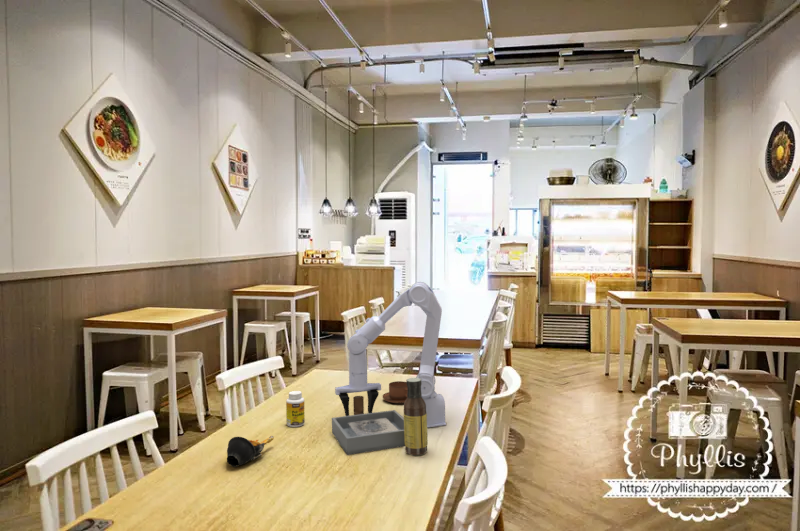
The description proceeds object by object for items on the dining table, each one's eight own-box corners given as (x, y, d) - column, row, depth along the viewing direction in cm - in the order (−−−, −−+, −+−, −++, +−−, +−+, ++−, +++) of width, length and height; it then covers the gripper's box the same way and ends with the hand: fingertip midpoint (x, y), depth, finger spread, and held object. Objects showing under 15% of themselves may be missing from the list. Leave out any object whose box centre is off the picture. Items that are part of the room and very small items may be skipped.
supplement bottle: (290, 429, 163) (290, 396, 162) (283, 424, 167) (283, 391, 167) (307, 425, 166) (307, 393, 165) (300, 420, 170) (300, 389, 170)
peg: (362, 420, 171) (361, 395, 170) (365, 423, 168) (364, 398, 167) (352, 421, 169) (352, 396, 169) (355, 424, 166) (354, 399, 166)
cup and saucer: (422, 399, 193) (422, 382, 193) (404, 408, 183) (404, 390, 183) (394, 394, 200) (394, 378, 199) (375, 402, 189) (375, 385, 189)
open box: (394, 424, 166) (394, 410, 166) (416, 444, 149) (416, 428, 149) (331, 432, 159) (331, 417, 159) (347, 455, 143) (346, 438, 142)
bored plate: (385, 425, 162) (385, 417, 162) (399, 439, 151) (399, 430, 151) (347, 430, 158) (347, 422, 158) (358, 445, 147) (358, 436, 147)
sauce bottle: (420, 445, 149) (420, 375, 148) (431, 453, 143) (431, 380, 142) (400, 449, 146) (399, 377, 145) (410, 458, 140) (409, 383, 139)
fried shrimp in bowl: (212, 453, 134) (242, 415, 148) (232, 482, 136) (260, 442, 151) (236, 446, 131) (264, 407, 145) (256, 475, 134) (282, 435, 148)
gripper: (376, 367, 174) (376, 408, 175) (332, 371, 169) (333, 413, 170) (383, 372, 167) (383, 414, 168) (337, 376, 162) (338, 420, 163)
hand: (358, 414), depth 168 cm, fingers open, 7 cm apart
